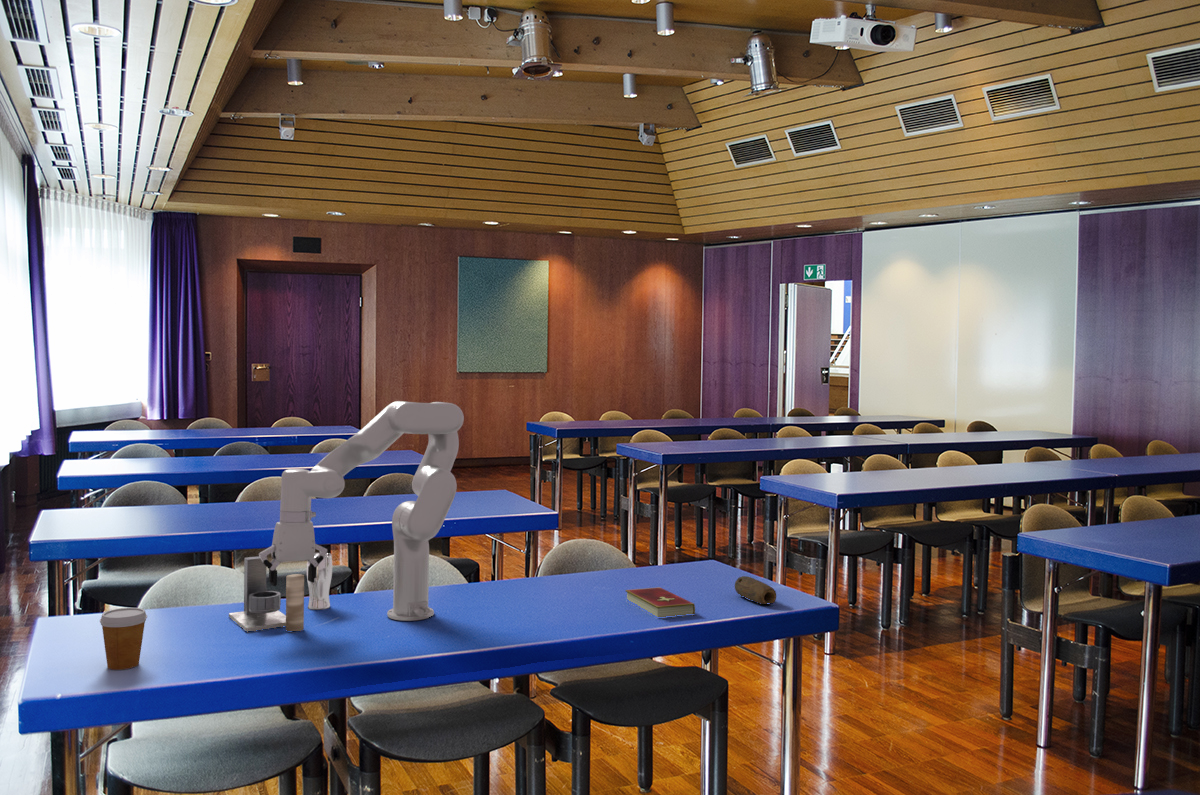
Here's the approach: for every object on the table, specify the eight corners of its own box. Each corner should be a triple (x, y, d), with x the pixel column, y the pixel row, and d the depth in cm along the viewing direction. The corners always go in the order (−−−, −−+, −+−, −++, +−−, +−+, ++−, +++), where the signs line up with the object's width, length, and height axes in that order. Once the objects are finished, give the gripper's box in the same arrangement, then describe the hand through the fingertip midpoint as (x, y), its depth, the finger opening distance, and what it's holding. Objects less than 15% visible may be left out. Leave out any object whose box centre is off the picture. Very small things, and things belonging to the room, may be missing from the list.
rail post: (306, 630, 234) (306, 576, 234) (288, 633, 231) (289, 578, 231) (300, 626, 238) (301, 573, 237) (283, 629, 235) (284, 575, 235)
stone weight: (730, 597, 279) (730, 575, 279) (748, 595, 283) (748, 573, 282) (761, 608, 266) (762, 585, 266) (780, 606, 269) (780, 583, 269)
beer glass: (335, 604, 261) (336, 552, 260) (325, 610, 254) (326, 557, 253) (312, 603, 261) (312, 552, 261) (302, 609, 254) (302, 556, 254)
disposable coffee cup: (122, 657, 210) (123, 605, 209) (156, 661, 207) (157, 609, 207) (88, 669, 200) (89, 615, 200) (123, 674, 198) (124, 620, 197)
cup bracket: (293, 625, 238) (294, 564, 238) (246, 632, 231) (247, 569, 231) (273, 611, 252) (274, 553, 252) (228, 617, 245) (229, 558, 244)
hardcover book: (660, 600, 276) (661, 586, 275) (694, 617, 256) (695, 602, 256) (625, 603, 271) (625, 589, 271) (657, 620, 252) (657, 605, 251)
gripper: (323, 513, 242) (320, 577, 242) (256, 516, 232) (253, 583, 232) (333, 517, 236) (330, 583, 236) (265, 520, 226) (262, 589, 226)
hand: (292, 583), depth 234 cm, fingers open, 9 cm apart
